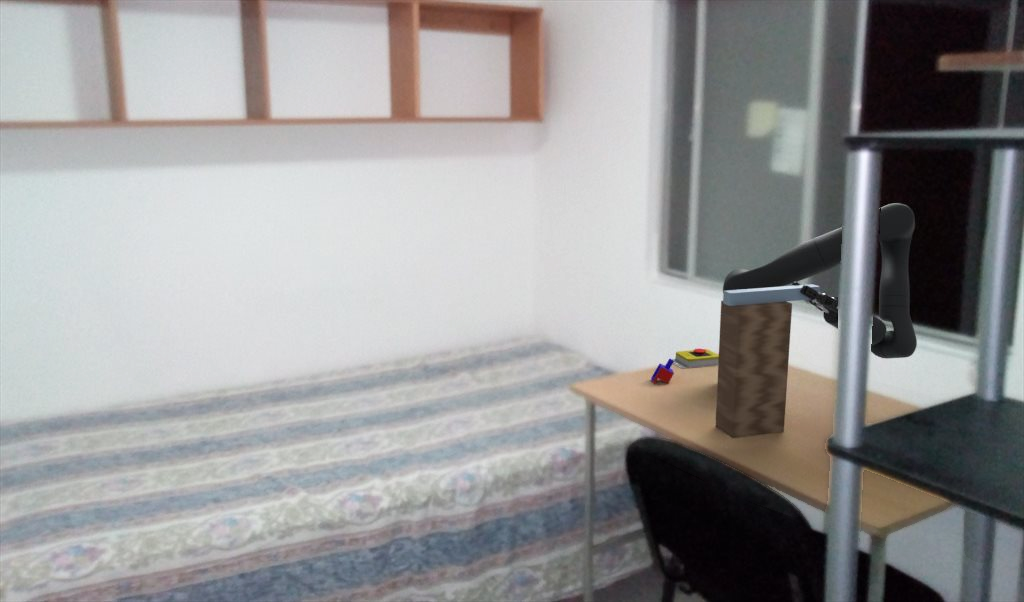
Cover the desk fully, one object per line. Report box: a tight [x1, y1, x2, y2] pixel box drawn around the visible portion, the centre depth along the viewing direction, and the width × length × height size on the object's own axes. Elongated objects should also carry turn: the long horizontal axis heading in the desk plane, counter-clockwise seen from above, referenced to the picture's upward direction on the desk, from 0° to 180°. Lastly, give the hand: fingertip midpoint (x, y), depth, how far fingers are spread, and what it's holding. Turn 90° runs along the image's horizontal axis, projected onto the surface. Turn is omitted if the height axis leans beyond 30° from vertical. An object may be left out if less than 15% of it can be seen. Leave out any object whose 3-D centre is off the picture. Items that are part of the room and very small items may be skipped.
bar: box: [722, 283, 821, 306], centre depth 191 cm, size 24×3×3 cm, turn 105°
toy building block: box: [650, 357, 675, 384], centre depth 233 cm, size 4×4×8 cm
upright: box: [715, 300, 793, 439], centre depth 194 cm, size 14×8×32 cm, turn 105°
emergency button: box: [671, 348, 719, 369], centre depth 251 cm, size 9×4×15 cm
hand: (797, 287), depth 192 cm, fingers open, 3 cm apart
